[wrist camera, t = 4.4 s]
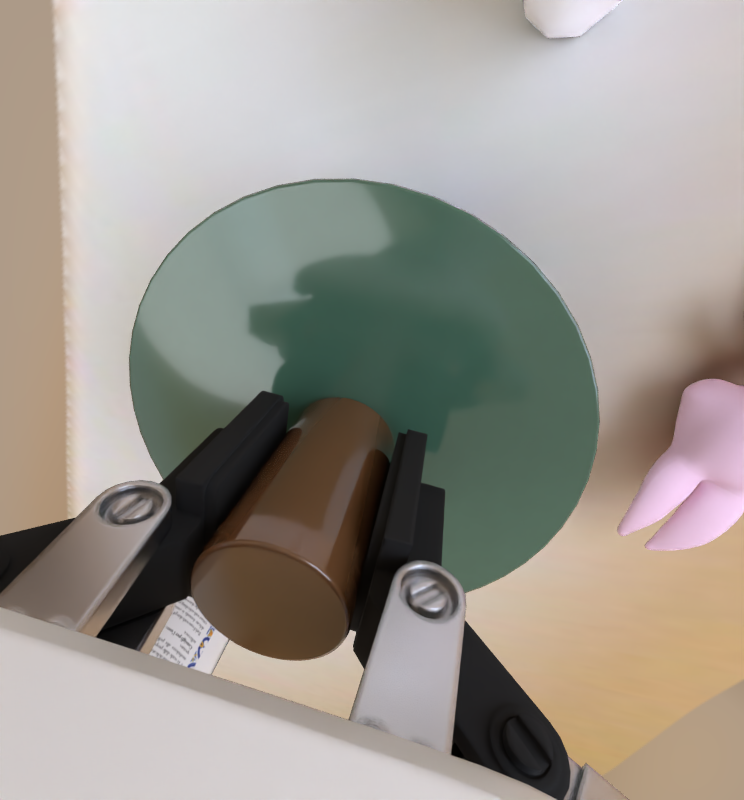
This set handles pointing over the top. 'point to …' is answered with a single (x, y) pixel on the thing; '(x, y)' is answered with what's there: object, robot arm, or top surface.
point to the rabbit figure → (696, 471)
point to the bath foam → (190, 639)
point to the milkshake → (566, 15)
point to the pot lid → (361, 394)
